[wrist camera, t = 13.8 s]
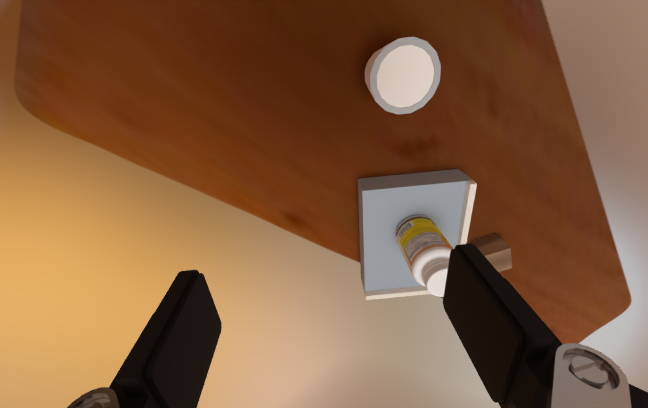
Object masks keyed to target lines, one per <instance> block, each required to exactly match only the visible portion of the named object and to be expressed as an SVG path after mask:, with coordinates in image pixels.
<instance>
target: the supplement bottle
mask: <svg viewBox="0 0 648 408" xmlns="http://www.w3.org/2000/svg"><path fill="white" fill-rule="evenodd" d="M396 241H397V243H398V245H399V248H400V250H401V252H402V254H403V256H404V258H405V260H406V263H407V265H408V267H409V269H410V271H411V273H412V275H413V277H414V279H415V280H416V281H417V282H418V283H419V284H421V285H422V286H425V287H426V288H427V290H428V291H429V292H430V293H431V294H432V295H435V296H439V297H444V291H445V284H446V278H447V271H448V264H449V258H450V252H451V250H452V249H453V247H452V246H451V245H450V243H449V242H448V241H447V239H446V238H445V237H444V235H443V234H442V233H441V231H440V230H439V229H438V227H437V226H436V225H435V223H434V222H433V221H432V220H431V219H429V218H428V217H425V216H419V215H418V216H412V217H409V218H407V219H405V220H404V221H402V222H401V223H400V225H399V226H398V228H397V230H396Z"/></svg>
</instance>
